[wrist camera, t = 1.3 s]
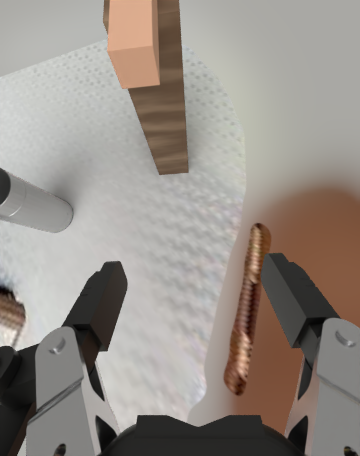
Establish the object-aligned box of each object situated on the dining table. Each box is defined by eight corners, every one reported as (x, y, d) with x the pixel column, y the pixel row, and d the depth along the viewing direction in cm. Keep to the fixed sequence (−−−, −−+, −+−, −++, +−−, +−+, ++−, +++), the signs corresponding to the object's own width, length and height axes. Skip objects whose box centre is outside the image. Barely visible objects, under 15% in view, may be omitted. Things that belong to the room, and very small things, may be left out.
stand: (188, 172, 50) (179, 11, 18) (159, 174, 50) (102, 21, 19) (185, 122, 53) (173, -85, 22) (158, 125, 53) (108, -74, 22)
